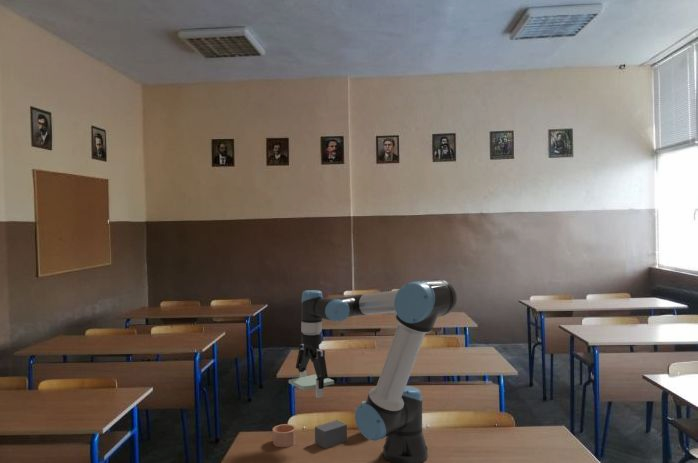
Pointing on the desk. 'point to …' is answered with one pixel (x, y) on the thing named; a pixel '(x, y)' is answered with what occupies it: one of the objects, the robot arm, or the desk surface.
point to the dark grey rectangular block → (330, 434)
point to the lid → (308, 382)
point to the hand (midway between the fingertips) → (311, 393)
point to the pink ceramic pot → (284, 435)
